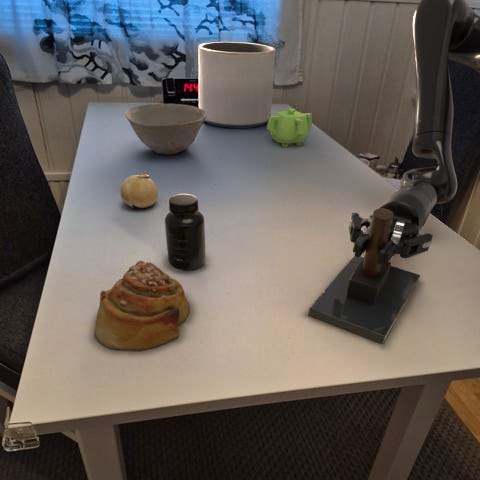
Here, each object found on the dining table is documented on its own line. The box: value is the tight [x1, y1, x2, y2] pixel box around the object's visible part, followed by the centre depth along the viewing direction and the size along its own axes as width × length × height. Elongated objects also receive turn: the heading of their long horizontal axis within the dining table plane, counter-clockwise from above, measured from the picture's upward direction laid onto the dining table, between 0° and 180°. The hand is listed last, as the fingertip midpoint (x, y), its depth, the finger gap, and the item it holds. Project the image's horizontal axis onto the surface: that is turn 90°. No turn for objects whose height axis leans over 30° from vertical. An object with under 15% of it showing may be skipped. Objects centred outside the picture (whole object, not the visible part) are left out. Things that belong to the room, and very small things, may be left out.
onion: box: [119, 170, 159, 209], centre depth 97 cm, size 8×8×7 cm
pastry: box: [94, 260, 191, 351], centre depth 65 cm, size 13×15×8 cm
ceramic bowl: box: [124, 103, 207, 156], centre depth 126 cm, size 22×23×10 cm
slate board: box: [307, 255, 421, 345], centre depth 74 cm, size 20×12×2 cm, turn 148°
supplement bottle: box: [164, 193, 207, 271], centre depth 77 cm, size 7×7×12 cm
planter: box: [197, 41, 276, 129], centre depth 150 cm, size 25×25×22 cm
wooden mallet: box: [347, 207, 394, 305], centre depth 68 cm, size 7×4×14 cm, turn 150°
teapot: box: [266, 107, 313, 148], centre depth 136 cm, size 12×12×10 cm
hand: (369, 254), depth 65 cm, fingers closed on wooden mallet, 3 cm apart
